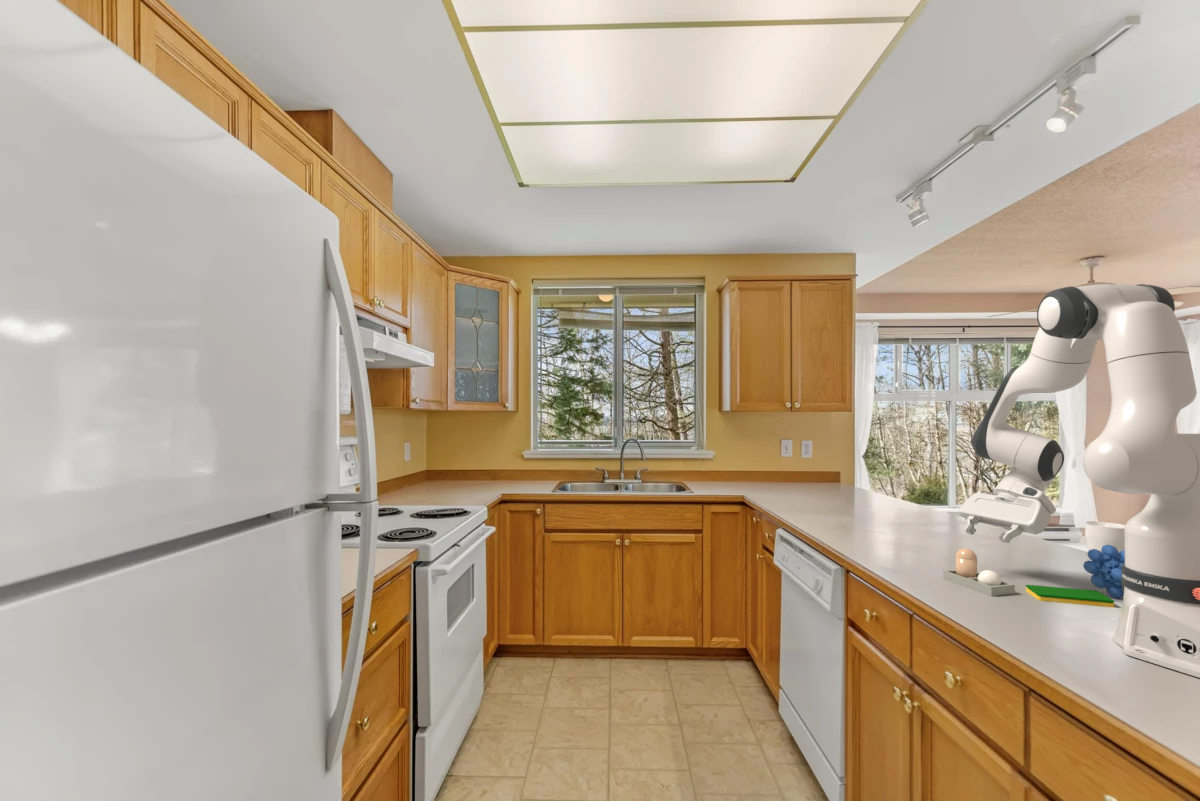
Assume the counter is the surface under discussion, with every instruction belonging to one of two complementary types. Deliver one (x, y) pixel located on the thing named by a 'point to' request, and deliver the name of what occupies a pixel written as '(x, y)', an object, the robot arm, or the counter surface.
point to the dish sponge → (1069, 595)
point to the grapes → (1106, 569)
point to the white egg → (989, 578)
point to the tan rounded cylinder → (966, 563)
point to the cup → (1104, 535)
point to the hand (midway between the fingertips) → (985, 536)
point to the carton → (979, 584)
